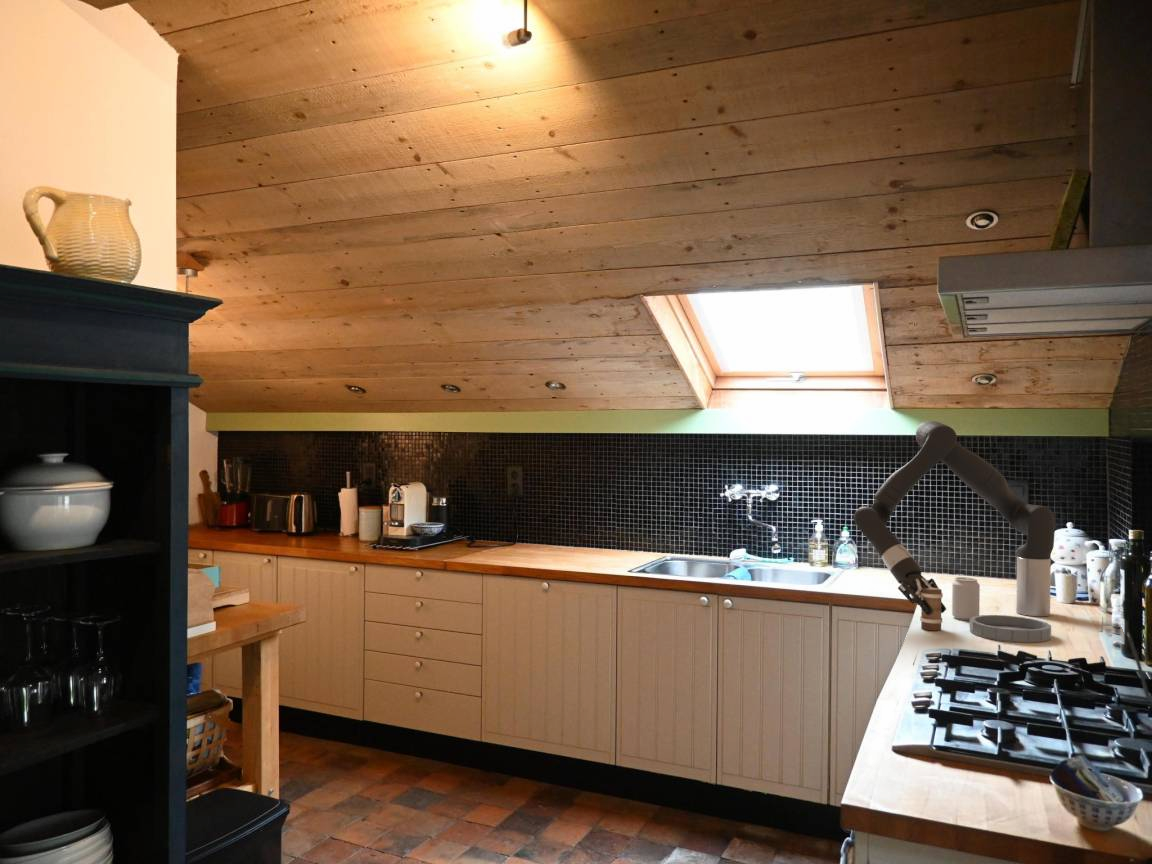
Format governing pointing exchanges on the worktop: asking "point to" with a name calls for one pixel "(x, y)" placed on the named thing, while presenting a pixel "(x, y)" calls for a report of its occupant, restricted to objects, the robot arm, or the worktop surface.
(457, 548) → the worktop surface
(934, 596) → the brown banded canister
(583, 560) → the worktop surface
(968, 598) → the wide mouth jar
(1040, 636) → the round tray
